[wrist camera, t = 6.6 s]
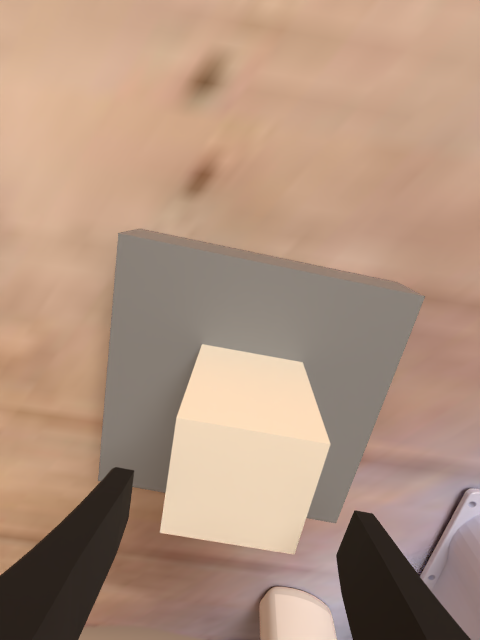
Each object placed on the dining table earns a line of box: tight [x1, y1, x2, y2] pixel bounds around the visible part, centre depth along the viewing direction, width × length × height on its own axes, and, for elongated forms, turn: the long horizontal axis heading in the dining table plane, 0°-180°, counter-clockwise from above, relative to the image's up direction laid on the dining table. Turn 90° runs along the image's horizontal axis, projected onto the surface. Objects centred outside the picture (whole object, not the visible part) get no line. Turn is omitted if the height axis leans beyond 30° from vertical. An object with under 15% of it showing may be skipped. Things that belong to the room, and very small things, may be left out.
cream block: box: [160, 344, 330, 554], centre depth 14 cm, size 5×5×6 cm
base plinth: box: [98, 229, 425, 523], centre depth 19 cm, size 14×14×3 cm
